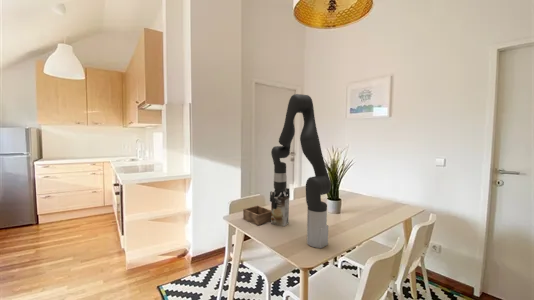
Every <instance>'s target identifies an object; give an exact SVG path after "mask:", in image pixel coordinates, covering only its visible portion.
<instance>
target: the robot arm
mask: <svg viewBox="0 0 534 300" xmlns="http://www.w3.org/2000/svg"><path fill="white" fill-rule="evenodd" d="M297 113H298V114H300V113H301V114H302V117H303V127H302V129H301V133H300V136H299V139H300V140H299V141H300V146H301V150H302V153H303V155H304V156H305V157H306V159H307V160H308V161H309V163H310V165H311V166H312V168H313V172H314V176H310V177H308V178H307V180H306V182H305V202H306V206H307V214H306V215H307V218H306V219H307V221H306V222H307V223H306V243H307V245H308V246H310V247H312V248H317V249H323V248H325V247H326V246H328V245H329V225H327V221H328V219H327V218H328V204H327V203H326V202H325V201H322V198H321V196H323V195H327V194H328V193H330V191H331V189H332V184H331V183H332V182H331V180H330V176H329V173H328V170H327V166H326V164H325V160H324V156H323V151H322V147H321V141H320V137H319V134H318V128H317V124H316V117H315V110H314V103H313V99H312V97H311V96H310V95H309V94H299V93H294V94H292V95H291V96H290V98H289V100H288V104H287V109H286V113H285V119H284V123H283V124H284V125H283V128H282V130H281V133H280V135H279V138H278V143H279V145H280V146H279V145H278V146H273V147H272V148H271V154H270V155H271V157H272V162H273V165H274V166H273V189H274V190H273V191H270V192H269V193H270V194H269V202H270V203H271V202H273V209H277V203H276V202H277V200H278V199H279V198H280V197H283V196H284V197H289V199H290V188H288V187H287V185H288V184H287V180H288V179H287V178H288V177H287V175H288V174H287V163H285V162H283V161H281V159H285V158H288V157H289V156H290V153H291V144H292V141H293V139H294V136H295V135H296V129H295V123H294V122H295V117H296V115H297ZM275 199H276V200H275Z"/></svg>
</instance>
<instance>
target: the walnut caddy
mask: <svg viewBox="0 0 534 300" xmlns="http://www.w3.org/2000/svg"><path fill="white" fill-rule="evenodd" d="M242 213H243V214H242V217H243V218H242V219H243V220H246V221H247V222H250V223H252V224H254V225H255V226H256V225H257V226H261V225H265V224H268V223H271V209H268V208H265V207H264V206H263V207H262V206H260V205H255V206H251V207H247V208H244V209H243V212H242Z"/></svg>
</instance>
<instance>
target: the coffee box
mask: <svg viewBox="0 0 534 300" xmlns="http://www.w3.org/2000/svg"><path fill="white" fill-rule="evenodd" d="M275 200H276V199H275ZM270 203H271V205H270V206H271V209H270V210H271V222H270V223H271V224H274V225H277V226H280V227H285V226H286V225H288V224H289V223H290V222H289V217H290V212H289V211H290V198H289V197H284V196H283V197H280V198H279V199H278V200H277V202H276V203H277V209H273V202H270Z"/></svg>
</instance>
